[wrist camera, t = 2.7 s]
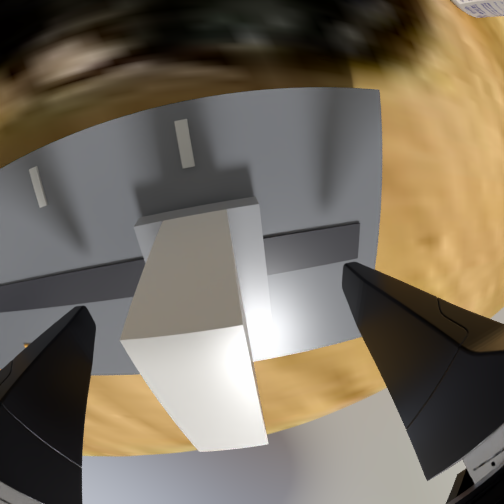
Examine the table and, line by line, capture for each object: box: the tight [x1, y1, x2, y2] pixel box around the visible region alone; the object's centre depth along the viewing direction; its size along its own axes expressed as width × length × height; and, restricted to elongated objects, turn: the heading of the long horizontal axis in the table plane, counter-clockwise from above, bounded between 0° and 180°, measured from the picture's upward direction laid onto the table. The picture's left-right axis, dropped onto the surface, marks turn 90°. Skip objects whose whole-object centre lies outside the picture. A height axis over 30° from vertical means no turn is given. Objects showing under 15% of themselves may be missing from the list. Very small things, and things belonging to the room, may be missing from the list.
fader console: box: [0, 87, 382, 375], centre depth 11 cm, size 26×12×2 cm, turn 97°
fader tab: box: [120, 196, 272, 452], centre depth 8 cm, size 4×5×6 cm
